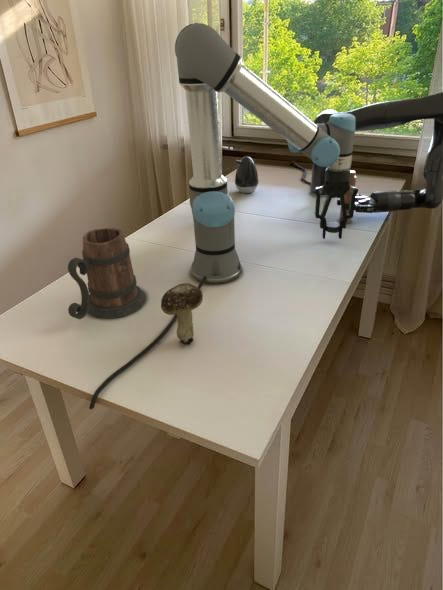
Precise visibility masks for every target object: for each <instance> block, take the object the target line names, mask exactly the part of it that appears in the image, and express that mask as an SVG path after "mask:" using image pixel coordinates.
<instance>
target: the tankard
mask: <svg viewBox="0 0 443 590" xmlns="http://www.w3.org/2000/svg"><path fill="white" fill-rule="evenodd" d="M82 236H83V237H82V251H81V254H82V255H81V256H82V258H80V257H73V258H71V259H70V260H69V262H68V264H67V271H68V274H69V275H70V277H71V279H73V280H74V281H75V282H76V284H77V285H78V288H79V290H80V295H81V303H80V304H79V303H77V302H73V303H70V305H69V306H68V308H67V309H68V310H67V313H68V314H69V316H70V317H72V318H74V319H77V320H82V319H84V318H85V317H86V316H87V315H88V314H89V315H91V316H92V317H95V318H99V319H117V318H122V317H125V316H128V315H131V314H133V313H135V312H136V311H138V310H140V309H141V308H142V307H143V306H144V305H145V303H146V300H147V295H146V292H145V291H144V290H143V289H142V288H141V287H139V286H138V284H137V277H136V275H135V274H134V273H135V272H134V267H133V264H132V259H131V254H130V253H131V251H130V246H129V243H127V241H126V238H125V235H124V232H123V231H122V230H121V229H119V228H115V227H105V228H104V227H103V228H95V229H90V230H89V231H87V232H85V234H84V235H82ZM77 268H78V270H79V274H78V272H77ZM80 275H82V276H86V277H87V284H86V282H85V280H84V279H82V277H80Z"/></svg>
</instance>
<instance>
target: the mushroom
mask: <svg viewBox="0 0 443 590" xmlns="http://www.w3.org/2000/svg"><path fill="white" fill-rule="evenodd" d="M203 299H204V294H203V291H202V290H201V289H199V288H198V286H196V285H194V284H193V283H188V282H183V283H179V284H176V285H175V286H173V287H171V288H170V289H168V290H167V291H166V292H165V293H164V294H163V296H162V297H161V300H160V309H161V311H162V312H163V313H164V314H166V315H167V316H169V315H170V316H172V315H174V316H175V314H177V327H176V336H177V338H178V339H179V343H180V344H182V345H186V346H188V345H189V346H190V345H191V344H192V343H193V342H194V322H193V310H195V309H197V308H198V307H200V306H201V304H202V303H203Z"/></svg>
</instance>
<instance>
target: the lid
mask: <svg viewBox="0 0 443 590" xmlns="http://www.w3.org/2000/svg"><path fill="white" fill-rule="evenodd" d="M339 231H340V222H337V221H327V223H326V233H331V234H337V233H339Z"/></svg>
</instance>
